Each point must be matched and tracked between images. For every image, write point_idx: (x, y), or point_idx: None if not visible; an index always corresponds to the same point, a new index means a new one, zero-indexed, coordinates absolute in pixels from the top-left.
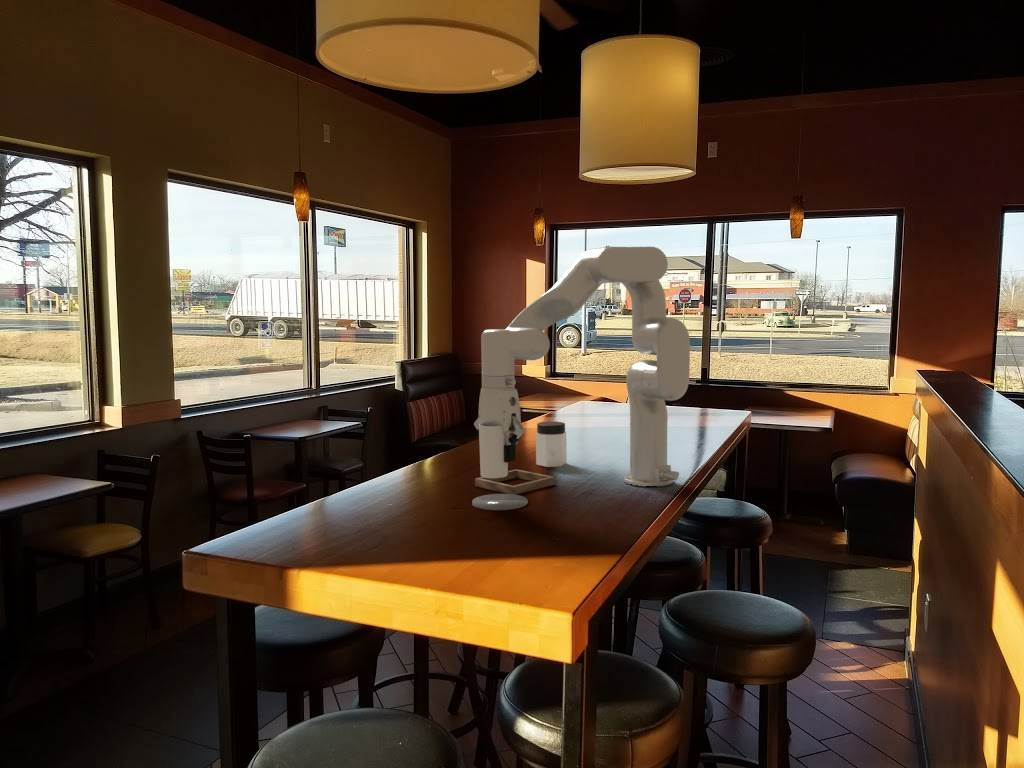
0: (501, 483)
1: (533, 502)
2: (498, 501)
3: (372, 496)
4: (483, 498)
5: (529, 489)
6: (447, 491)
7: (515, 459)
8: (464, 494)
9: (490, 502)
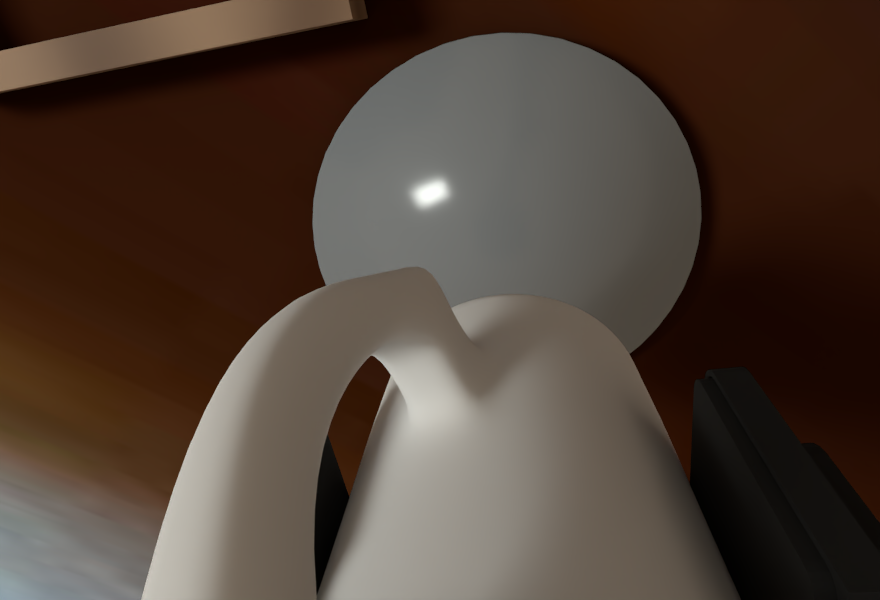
0: (172, 25)
1: (658, 26)
2: (512, 264)
3: (44, 572)
4: None
5: None
6: (60, 314)
7: (748, 372)
8: (174, 280)
9: None
